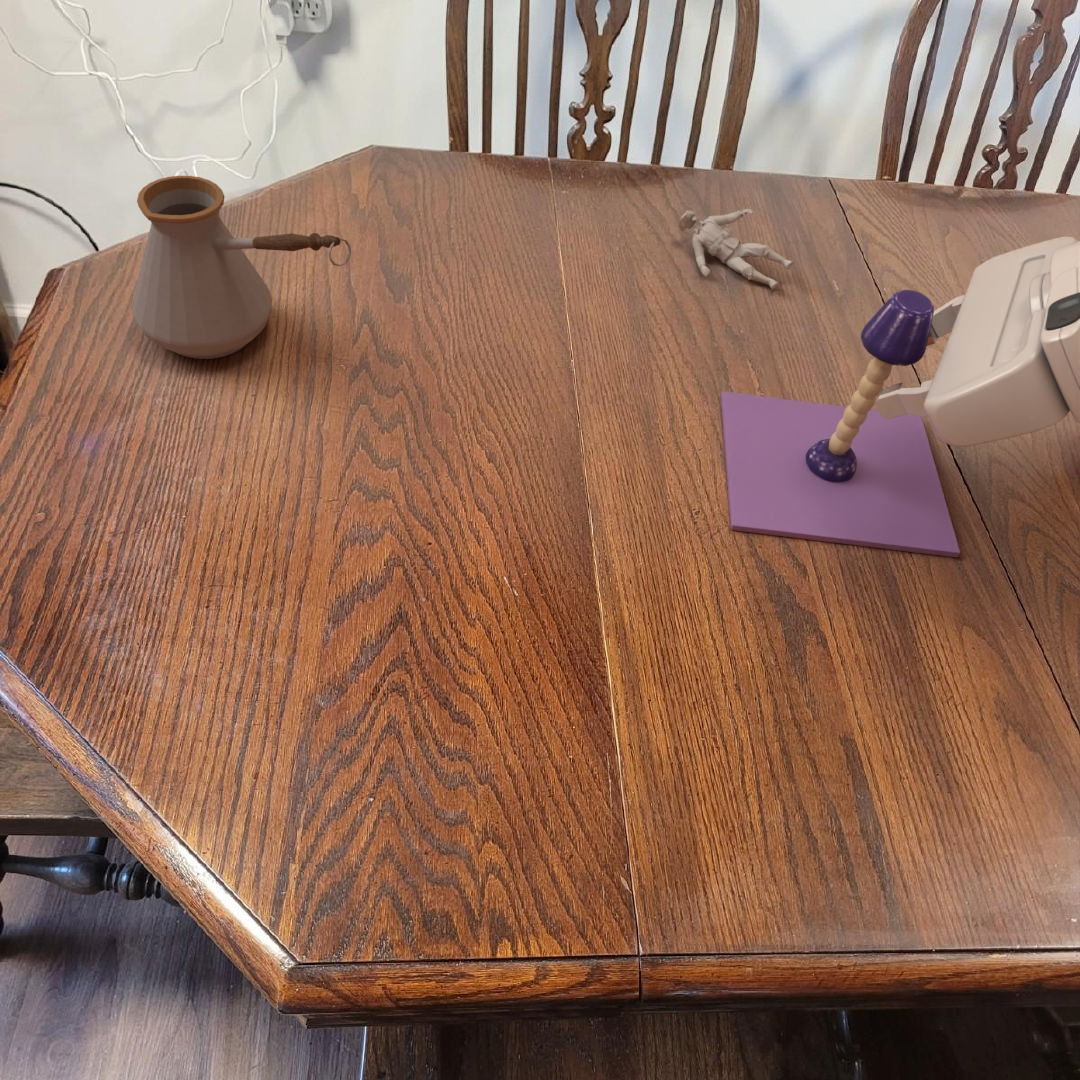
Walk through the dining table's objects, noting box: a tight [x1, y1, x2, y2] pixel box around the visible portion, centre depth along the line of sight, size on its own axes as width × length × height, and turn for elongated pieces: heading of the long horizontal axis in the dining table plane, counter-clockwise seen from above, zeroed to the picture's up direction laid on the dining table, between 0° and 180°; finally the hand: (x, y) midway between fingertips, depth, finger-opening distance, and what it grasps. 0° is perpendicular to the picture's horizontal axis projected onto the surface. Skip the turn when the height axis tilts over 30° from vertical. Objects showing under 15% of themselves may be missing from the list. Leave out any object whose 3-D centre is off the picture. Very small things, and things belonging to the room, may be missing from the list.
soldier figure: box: [678, 208, 795, 290], centre depth 96 cm, size 8×5×12 cm
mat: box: [720, 390, 961, 558], centre depth 78 cm, size 18×16×1 cm
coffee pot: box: [131, 175, 352, 360], centre depth 76 cm, size 21×12×15 cm, turn 61°
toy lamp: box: [806, 289, 935, 482], centre depth 72 cm, size 5×5×17 cm
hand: (896, 369), depth 70 cm, fingers open, 8 cm apart
